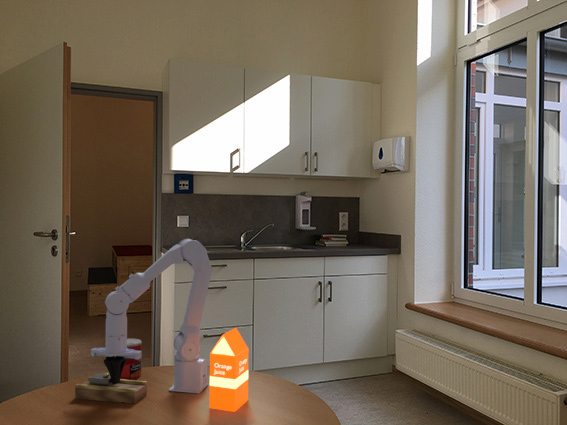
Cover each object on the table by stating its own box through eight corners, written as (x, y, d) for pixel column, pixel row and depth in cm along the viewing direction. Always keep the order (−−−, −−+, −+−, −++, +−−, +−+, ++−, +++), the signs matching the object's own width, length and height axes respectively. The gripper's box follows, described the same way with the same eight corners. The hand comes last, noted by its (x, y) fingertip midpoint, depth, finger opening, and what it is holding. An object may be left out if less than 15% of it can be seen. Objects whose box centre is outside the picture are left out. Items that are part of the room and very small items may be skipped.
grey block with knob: (116, 383, 141) (117, 371, 141) (108, 388, 137) (108, 376, 137) (98, 381, 143) (98, 370, 143) (88, 386, 138) (88, 374, 138)
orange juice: (248, 400, 137) (249, 328, 137) (235, 412, 129) (236, 335, 129) (223, 396, 140) (223, 326, 140) (208, 408, 132) (209, 333, 132)
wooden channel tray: (146, 394, 141) (146, 381, 141) (134, 403, 134) (134, 389, 134) (89, 389, 144) (89, 376, 144) (75, 398, 137) (75, 384, 137)
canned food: (134, 381, 152) (134, 345, 152) (110, 379, 154) (110, 343, 154) (145, 373, 160) (146, 339, 160) (123, 371, 161) (123, 337, 161)
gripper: (84, 336, 136) (84, 385, 136) (133, 339, 134) (132, 389, 134) (98, 330, 143) (98, 377, 143) (145, 333, 140) (144, 381, 140)
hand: (115, 382), depth 139 cm, fingers closed
